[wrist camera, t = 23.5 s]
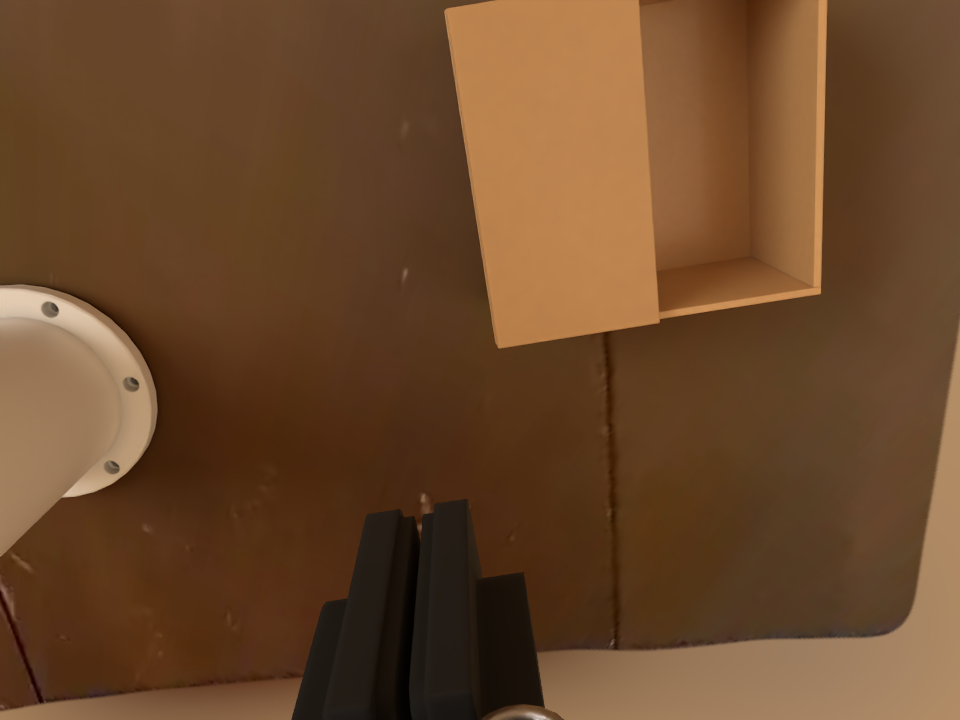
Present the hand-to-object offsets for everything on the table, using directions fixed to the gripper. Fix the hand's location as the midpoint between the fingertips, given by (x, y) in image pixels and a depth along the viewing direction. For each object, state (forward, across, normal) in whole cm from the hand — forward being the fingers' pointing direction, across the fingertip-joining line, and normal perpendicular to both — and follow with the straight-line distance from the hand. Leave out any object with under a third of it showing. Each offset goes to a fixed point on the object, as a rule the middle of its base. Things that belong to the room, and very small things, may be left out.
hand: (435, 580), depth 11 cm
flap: (+19, -5, -4) cm, 20 cm away
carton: (+27, -9, -4) cm, 29 cm away
